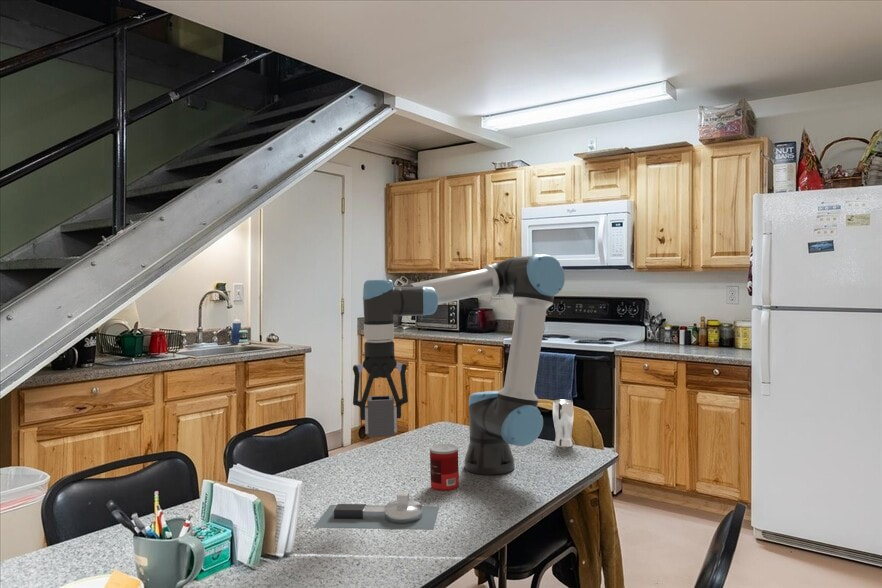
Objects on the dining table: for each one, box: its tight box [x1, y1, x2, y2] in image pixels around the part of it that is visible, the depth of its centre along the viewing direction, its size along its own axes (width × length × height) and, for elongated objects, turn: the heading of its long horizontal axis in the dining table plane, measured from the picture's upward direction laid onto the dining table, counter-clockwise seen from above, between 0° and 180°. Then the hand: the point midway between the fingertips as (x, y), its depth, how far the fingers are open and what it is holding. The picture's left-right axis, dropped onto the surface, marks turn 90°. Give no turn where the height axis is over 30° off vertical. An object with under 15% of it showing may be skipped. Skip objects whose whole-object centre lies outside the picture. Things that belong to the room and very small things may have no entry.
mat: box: [312, 504, 440, 531], centre depth 143 cm, size 28×14×1 cm, turn 84°
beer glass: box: [552, 399, 575, 449], centre depth 202 cm, size 7×7×15 cm
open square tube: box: [367, 394, 395, 438], centre depth 150 cm, size 6×6×9 cm
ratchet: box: [332, 491, 423, 524], centre depth 143 cm, size 22×9×6 cm, turn 85°
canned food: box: [429, 443, 460, 492], centre depth 163 cm, size 8×8×11 cm
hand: (381, 431), depth 150 cm, fingers closed on open square tube, 6 cm apart
